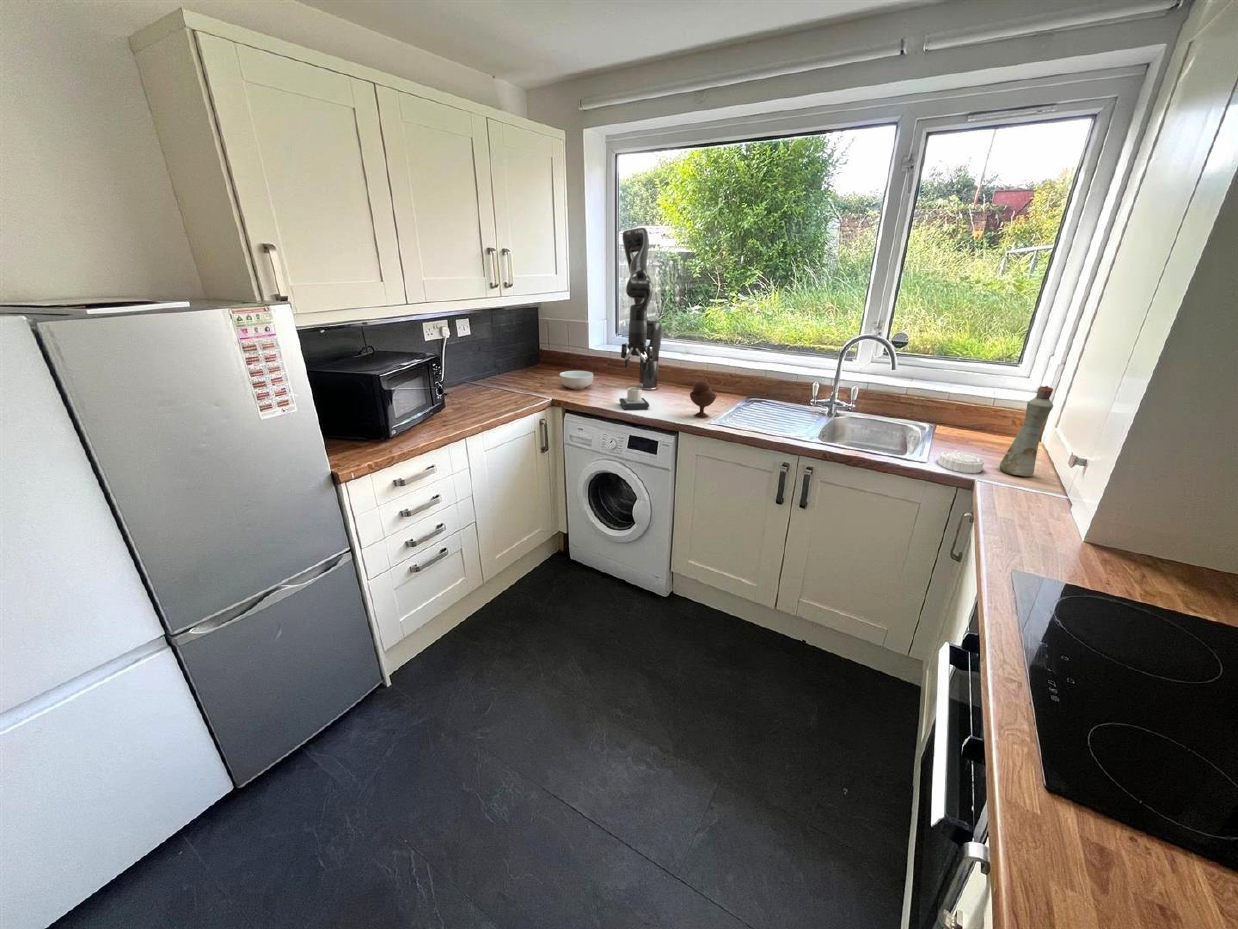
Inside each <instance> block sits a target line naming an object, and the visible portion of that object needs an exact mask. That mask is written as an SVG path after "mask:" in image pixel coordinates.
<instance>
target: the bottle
mask: <svg viewBox="0 0 1238 929" xmlns="http://www.w3.org/2000/svg"><path fill="white" fill-rule="evenodd" d="M1053 391H1054V388H1053V387H1050V386H1048V385H1045V386H1039V387H1038V389H1037V392H1036V394H1035V397H1033V398H1032V399H1030V400H1028V401H1027V402H1026V410H1025V416H1024V423H1023V424H1022V427H1021V428H1020V429H1019V431H1018V433H1017V435H1016V436H1015V438H1014V439H1013V441H1012V443H1011V445H1010V446H1009V448H1008V449H1007V451H1006V453H1005V454H1004V456H1003V458H1002V460H1001V461H1000V463H999V466H998V467H999V469H1000V471H1001V472H1002V473H1004V474H1009V475H1012V476H1013V475H1014V476H1021V477H1026V478H1028V477H1029V478H1030V477H1031V476H1033V474H1034V472H1035V467H1036V460H1037V456H1038V455H1037V454H1038V450H1039V445H1040V437H1041V430H1042V427H1043V425H1044V422H1046V420H1047V418H1048V416H1049V415H1050V413H1051V411H1052V410H1053V408H1054V404H1053V403H1052V401H1051V399H1050V398H1051V397H1052V394H1053Z"/></svg>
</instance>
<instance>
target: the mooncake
mask: <svg viewBox="0 0 1238 929" xmlns="http://www.w3.org/2000/svg"><path fill="white" fill-rule="evenodd" d="M937 464H939V465H940V466H941V467H943V468H945V469H947V470H950V471H955V472H959V473H964V474H965V473H966V474H976V473H977V474H978V473H980V472H982V470H983V468H984V465H985V461H984V460H983V459H982V458H981V457H979V456H978V455H974V454H972V453H966V452H964V451H963V452H962V451H956V450H950V451H948V450H947V451H942V452H941V453H939V457H938V461H937Z"/></svg>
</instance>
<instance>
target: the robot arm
mask: <svg viewBox="0 0 1238 929" xmlns="http://www.w3.org/2000/svg"><path fill="white" fill-rule="evenodd" d="M621 238H622V244H623V249H624V254H625V258H626V262H627V266H628V271H629V279H628V280H627V283H626V287H625V292H626V295H627V296H628V297H629V298H631V299H633V301H634V304H631V305H630V306H629V322H628V335H627V336H628V337H627V338H628V339H627V341H628V343H622V344H621V349H620V350H621V352H620V358H622V359H624V367H625V369H626V370H628V369H630V368H631V358H632V357H634V356H636V357H639V376H638V384H637V386H638V388H641V389H642V390H644V391H654V390H657V389H658V380H659V378H658V375H659V363H660V362H659V361H660V359H659V358H660V350H661V345H662V336H663V325H662V323H661V321H658V320H652V319H651V320H650V319H648V308H649V304H650V302H651V300H652V297H653V289H654V288H653V283H652V279H651V276H650V275H649V274H648V265H647V263H648V255H649V248H650V238H649V233H648V231H647V229H646V228H645V227H637V228H632V229H626V230H624V231H623V232H622V236H621ZM634 253H636V254H634ZM647 341H649V344H647Z"/></svg>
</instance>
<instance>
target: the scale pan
mask: <svg viewBox="0 0 1238 929" xmlns="http://www.w3.org/2000/svg"><path fill="white" fill-rule="evenodd" d="M623 400H624V401H625V403H626V404H645V402H644V401H643V400H642V399H641V400H640V401H638V402H632V401H628V399H627V397H623Z"/></svg>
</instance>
